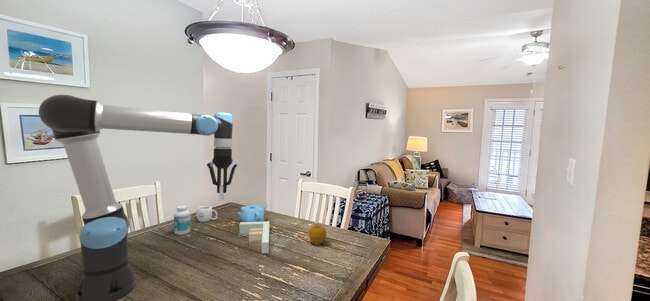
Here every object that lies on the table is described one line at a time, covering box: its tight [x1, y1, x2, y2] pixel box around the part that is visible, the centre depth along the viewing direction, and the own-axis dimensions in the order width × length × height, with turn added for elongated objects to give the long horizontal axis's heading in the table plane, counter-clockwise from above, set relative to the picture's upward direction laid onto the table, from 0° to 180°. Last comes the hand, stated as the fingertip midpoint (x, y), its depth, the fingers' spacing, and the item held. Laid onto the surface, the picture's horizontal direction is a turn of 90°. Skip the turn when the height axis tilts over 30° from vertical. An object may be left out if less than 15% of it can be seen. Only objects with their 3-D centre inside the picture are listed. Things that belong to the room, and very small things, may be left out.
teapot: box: [236, 204, 269, 222], centre depth 150 cm, size 16×18×11 cm
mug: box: [195, 205, 218, 223], centre depth 155 cm, size 12×8×8 cm
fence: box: [238, 220, 270, 254], centre depth 129 cm, size 26×15×5 cm, turn 11°
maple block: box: [248, 228, 263, 247], centre depth 128 cm, size 6×6×6 cm
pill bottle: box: [173, 205, 191, 236], centre depth 137 cm, size 8×7×14 cm
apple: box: [308, 224, 327, 246], centre depth 129 cm, size 8×8×9 cm
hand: (221, 200), depth 120 cm, fingers closed
